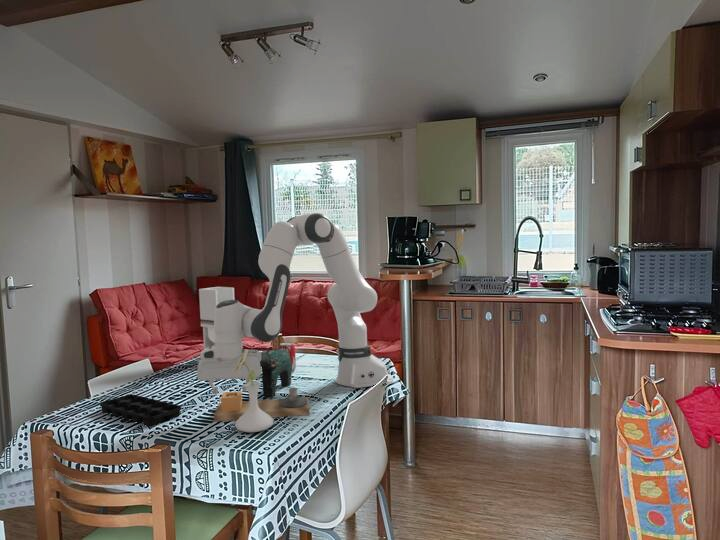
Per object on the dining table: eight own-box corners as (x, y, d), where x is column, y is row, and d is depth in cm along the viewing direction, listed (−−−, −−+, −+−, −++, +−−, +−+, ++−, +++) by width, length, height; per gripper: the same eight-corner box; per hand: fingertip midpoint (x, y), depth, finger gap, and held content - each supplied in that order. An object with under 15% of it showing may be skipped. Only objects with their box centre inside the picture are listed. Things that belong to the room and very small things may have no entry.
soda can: (298, 371, 219) (297, 343, 219) (283, 374, 215) (282, 346, 215) (291, 368, 225) (290, 341, 224) (276, 370, 221) (275, 343, 220)
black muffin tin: (126, 403, 184) (125, 392, 184) (194, 411, 174) (194, 400, 174) (84, 419, 168) (83, 408, 168) (157, 429, 158) (156, 417, 157)
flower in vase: (247, 420, 162) (243, 342, 160) (280, 423, 159) (277, 343, 157) (225, 436, 150) (221, 352, 148) (260, 439, 146) (256, 353, 145)
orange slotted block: (242, 404, 172) (241, 391, 171) (240, 410, 166) (240, 396, 165) (223, 405, 171) (223, 392, 170) (221, 411, 165) (221, 398, 165)
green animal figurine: (272, 400, 182) (270, 344, 180) (256, 399, 184) (254, 343, 182) (295, 384, 201) (293, 333, 199) (280, 383, 202) (278, 333, 201)
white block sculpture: (202, 364, 236) (198, 289, 233) (220, 359, 244) (217, 286, 242) (219, 367, 229) (215, 290, 227) (237, 362, 238) (234, 287, 235)
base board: (308, 402, 178) (307, 382, 177) (309, 414, 166) (308, 393, 165) (219, 409, 174) (218, 388, 173) (214, 421, 162) (213, 400, 161)
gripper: (261, 346, 171) (262, 387, 172) (198, 349, 169) (200, 391, 169) (260, 350, 165) (261, 393, 166) (195, 353, 162) (196, 396, 163)
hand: (230, 392), depth 168 cm, fingers open, 8 cm apart
